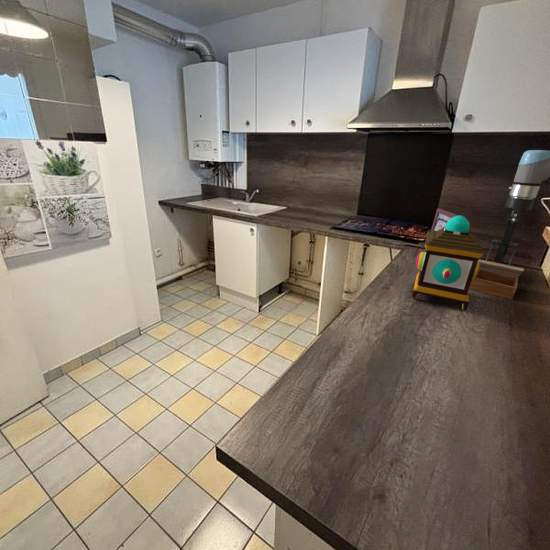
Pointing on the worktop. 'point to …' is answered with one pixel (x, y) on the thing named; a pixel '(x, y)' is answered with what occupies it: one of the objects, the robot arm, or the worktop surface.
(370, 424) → the worktop surface
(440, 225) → the picture frame
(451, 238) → the decorative lantern
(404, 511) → the worktop surface
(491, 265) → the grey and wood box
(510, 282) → the open wooden box
